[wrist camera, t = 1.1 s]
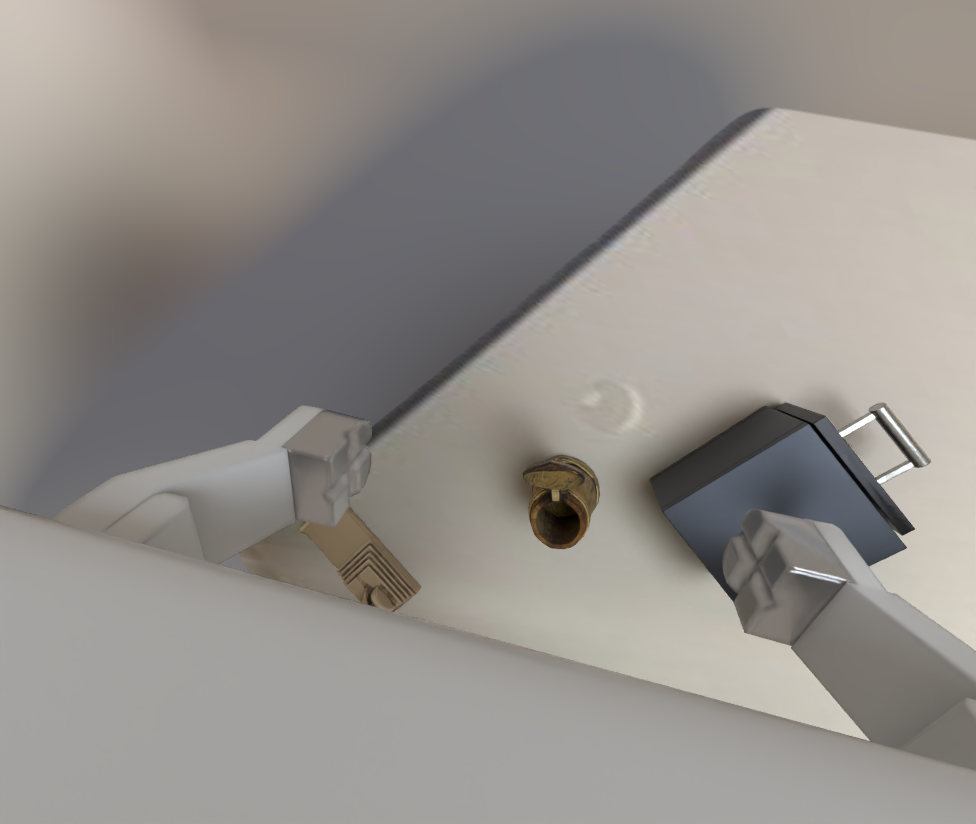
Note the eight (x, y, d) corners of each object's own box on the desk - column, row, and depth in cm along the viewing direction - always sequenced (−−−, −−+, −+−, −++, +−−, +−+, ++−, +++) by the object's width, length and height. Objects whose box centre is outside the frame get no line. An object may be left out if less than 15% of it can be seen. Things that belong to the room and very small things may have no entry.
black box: (765, 405, 50) (808, 423, 40) (843, 504, 50) (907, 548, 39) (649, 478, 54) (662, 511, 44) (721, 569, 54) (750, 623, 44)
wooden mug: (600, 423, 55) (603, 463, 37) (599, 522, 57) (601, 604, 40) (530, 422, 57) (503, 459, 40) (532, 518, 59) (507, 593, 42)
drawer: (833, 372, 47) (886, 380, 38) (910, 468, 47) (979, 497, 38) (673, 472, 53) (688, 498, 44) (740, 558, 52) (768, 601, 44)
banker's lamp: (372, 627, 69) (162, 905, 35) (286, 531, 69) (1, 713, 36) (437, 573, 64) (266, 833, 31) (344, 471, 65) (79, 616, 31)
